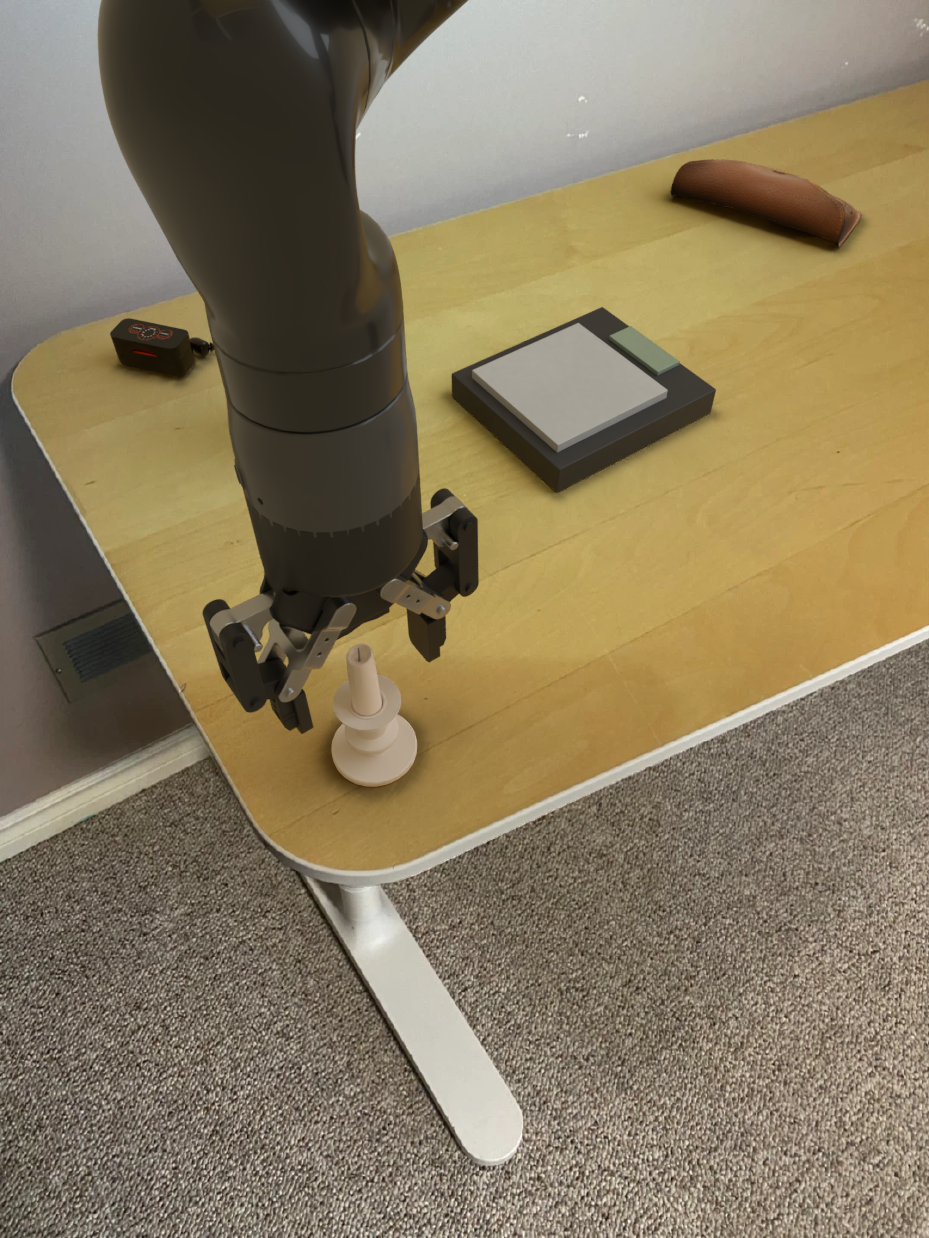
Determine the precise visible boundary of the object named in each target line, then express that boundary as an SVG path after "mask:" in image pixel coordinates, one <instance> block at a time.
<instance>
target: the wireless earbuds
mask: <svg viewBox="0 0 929 1238" xmlns="http://www.w3.org/2000/svg"><path fill="white" fill-rule="evenodd" d="M109 336H110V338H111V341H112V344H113V347H114V351H115V353H116V355H117V359H118V361H119V363H120V364H121V365H122V366H123V367H126V368H132V369H136V370H140V371H145V372H149V373H154V374H159V375H164V376H167V377H173V378H177V379H183V378H184V377H185V376H186V375H187V374H188V373H189V372H190V370H191V369H192V368H193V367H194V366H195V364H196V355H195V354H197V355H198V356H200V357H201V358H205V357H207V356H208V355H209V353H213V352H215V350H214V346H213V342H212V341H209V342H208V341H206V340H205V339H202V338H200V337H190V334H189V331H188V330H186V329H185V328H184V329H183V328H179V327H174V326H169V325H165V324H160V323H156V322H149V321H144V320H141V319H135V318H132V317H131V318H130V317H129V318H123V319H122V320H120V321H119V322H118V323H117V325H115V327H114V328H112V330H111V331H110V332H109Z"/></svg>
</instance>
